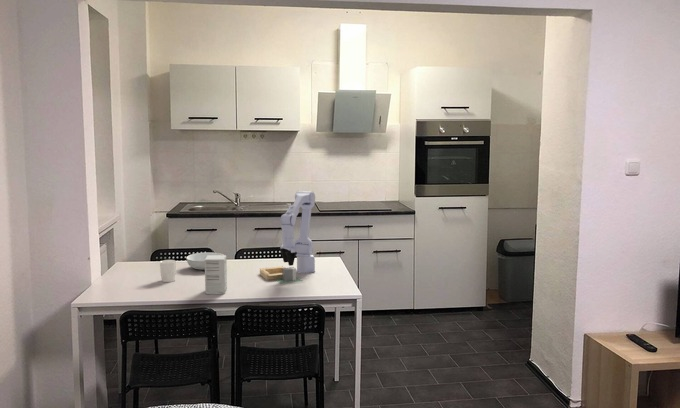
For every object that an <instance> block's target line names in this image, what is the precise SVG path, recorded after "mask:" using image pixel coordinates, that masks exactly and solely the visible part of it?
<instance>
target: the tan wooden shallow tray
mask: <svg viewBox="0 0 680 408" xmlns="http://www.w3.org/2000/svg"><path fill="white" fill-rule="evenodd" d="M282 268H287V267H285V266H284V265H280V266H271V267H262V268H261V267H260V268H259V275H260V276H261V277H262V278H264V279H265V280H266V281H270V280H275V279H281V278H282Z"/></svg>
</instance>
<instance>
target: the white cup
mask: <svg viewBox="0 0 680 408" xmlns="http://www.w3.org/2000/svg"><path fill="white" fill-rule="evenodd" d="M176 265H177V264H176V260H175V259H164V260H160V261H159V270H160V276H161V279H160V280H161V282H162V283H171V282H174V281H176V267H177V266H176Z"/></svg>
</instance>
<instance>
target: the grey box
mask: <svg viewBox="0 0 680 408" xmlns="http://www.w3.org/2000/svg"><path fill="white" fill-rule="evenodd" d="M296 269H297V267H294V266H289V267H286V268H282V280H284V281H294V280H296V277H297V272H296Z"/></svg>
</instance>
